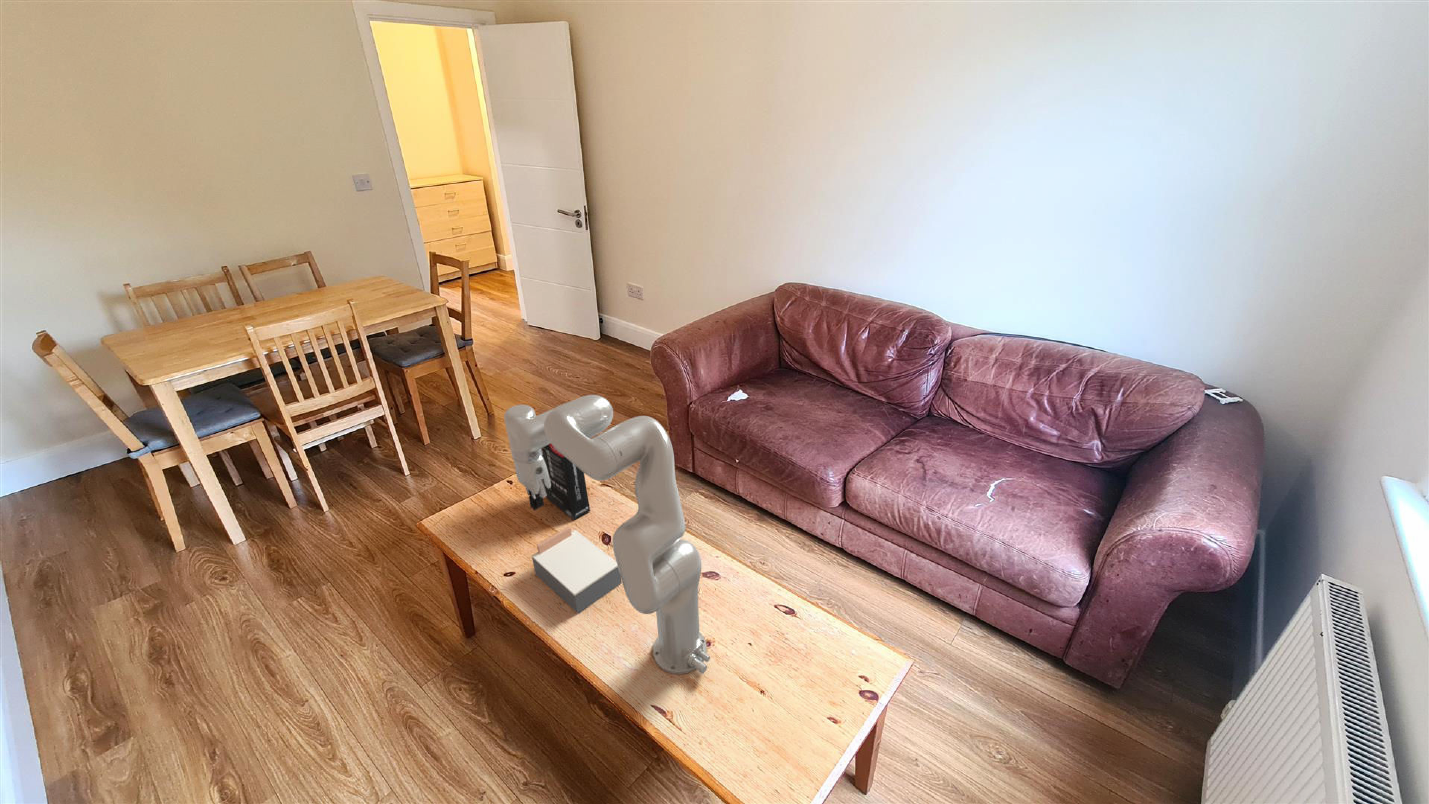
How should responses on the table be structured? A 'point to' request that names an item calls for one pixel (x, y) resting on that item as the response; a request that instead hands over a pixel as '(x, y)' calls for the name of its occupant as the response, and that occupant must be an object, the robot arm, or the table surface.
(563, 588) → the box
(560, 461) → the graphics card box
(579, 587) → the lid
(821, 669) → the table surface
